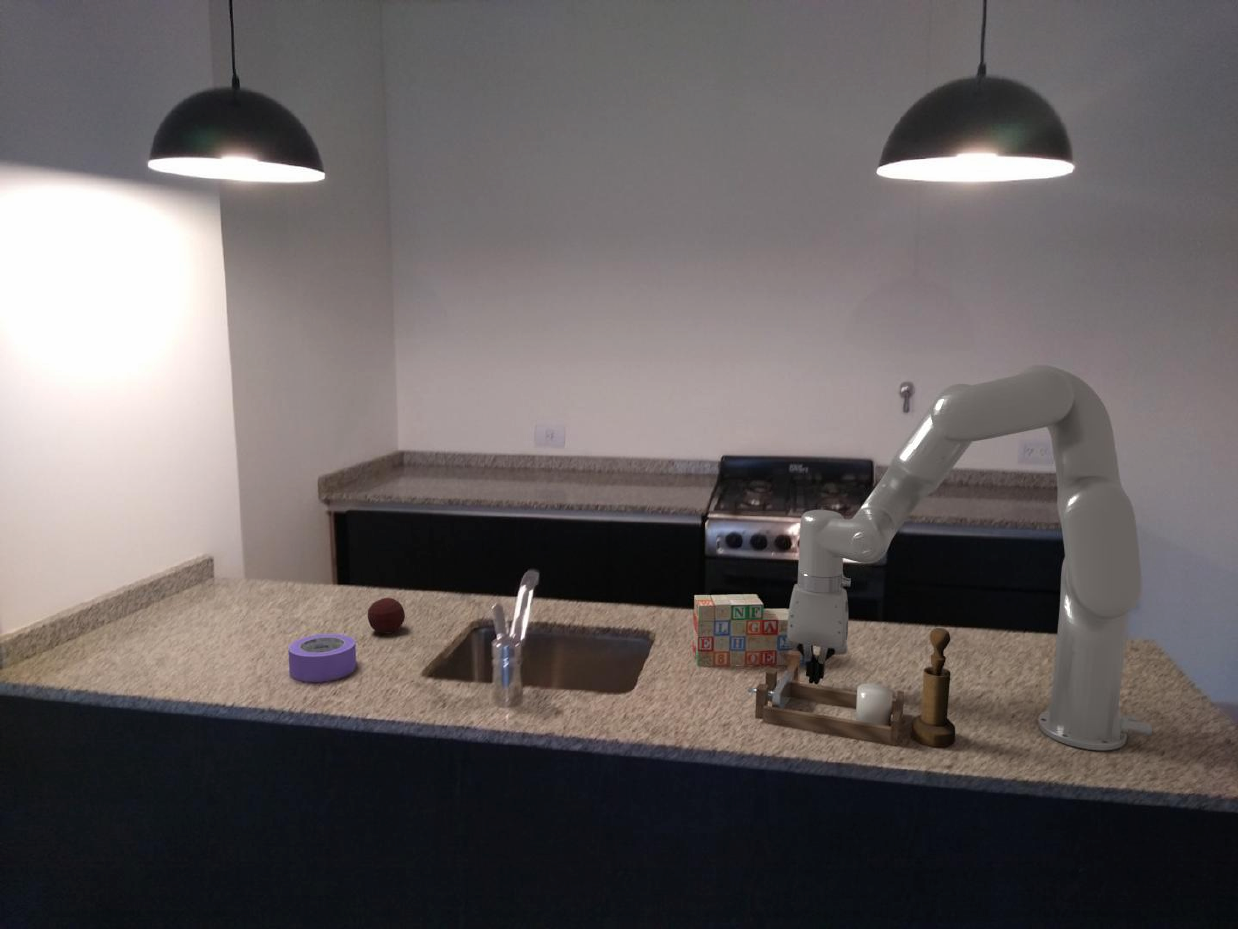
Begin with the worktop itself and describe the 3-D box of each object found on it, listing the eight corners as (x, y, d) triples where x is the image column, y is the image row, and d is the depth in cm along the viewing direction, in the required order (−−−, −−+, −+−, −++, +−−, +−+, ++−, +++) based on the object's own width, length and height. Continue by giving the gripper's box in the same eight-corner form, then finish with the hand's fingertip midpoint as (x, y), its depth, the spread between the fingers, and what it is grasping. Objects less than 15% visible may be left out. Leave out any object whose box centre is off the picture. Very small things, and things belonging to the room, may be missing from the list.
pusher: (799, 683, 161) (800, 651, 160) (781, 720, 146) (782, 686, 145) (763, 677, 164) (764, 646, 163) (741, 713, 149) (742, 679, 148)
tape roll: (333, 653, 174) (332, 628, 173) (369, 668, 167) (368, 643, 166) (277, 671, 165) (275, 645, 164) (312, 688, 158) (310, 661, 157)
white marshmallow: (892, 721, 147) (894, 686, 146) (888, 735, 142) (891, 700, 141) (857, 715, 149) (859, 681, 148) (853, 729, 144) (855, 694, 143)
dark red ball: (361, 636, 183) (360, 602, 182) (381, 623, 190) (380, 591, 189) (393, 640, 181) (392, 606, 180) (412, 627, 188) (411, 594, 187)
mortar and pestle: (902, 737, 142) (910, 628, 138) (922, 724, 146) (930, 618, 143) (943, 752, 137) (951, 639, 134) (962, 738, 141) (970, 629, 138)
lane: (902, 714, 150) (904, 685, 149) (896, 746, 139) (898, 715, 138) (769, 692, 158) (770, 665, 157) (753, 720, 147) (754, 691, 146)
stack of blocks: (800, 653, 176) (803, 593, 174) (808, 666, 170) (811, 603, 168) (692, 654, 175) (693, 593, 173) (696, 667, 169) (698, 604, 167)
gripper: (866, 580, 157) (860, 680, 160) (781, 571, 162) (777, 667, 165) (861, 593, 150) (855, 696, 153) (772, 582, 155) (768, 682, 158)
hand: (814, 681), depth 159 cm, fingers closed
